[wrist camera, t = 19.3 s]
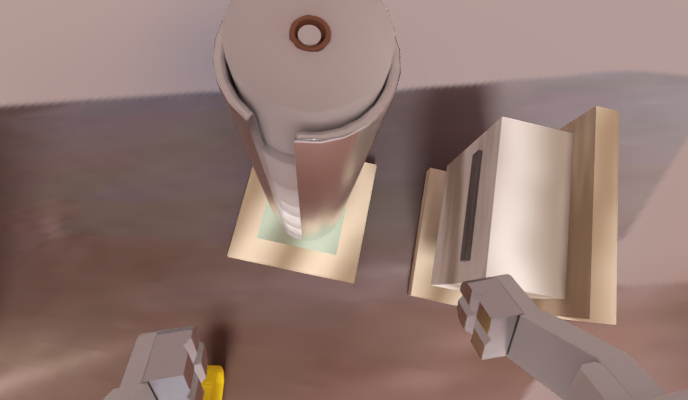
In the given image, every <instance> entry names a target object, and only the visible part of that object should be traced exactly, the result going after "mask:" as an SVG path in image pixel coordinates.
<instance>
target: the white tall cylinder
mask: <svg viewBox="0 0 688 400" xmlns="http://www.w3.org/2000/svg"><path fill="white" fill-rule="evenodd" d="M394 32H395V31H394V27H393V24H392V21H391V18H390V15H389V12H388V10H387V9H386V7H385V6H384V5H383V3H382V1H381V0H230V3H229V5H228V8H227V11H226V13H225V16H224V19H223V21H222V24H221V26H220V28H219V31H218V33H217V35H216V38H215V45H214V55H213V65H214V69H215V74H216V79H217V83H218V86H219V89H220V91H221V93H222V96H223V98H224V100H225V103H226V105H227V107H228V110H229V112H230V114H231V117H232V119H233V121H234V124H235V126H236V128H237V130H238V133H239V135H240V137H241V140H242V142H243V144H244V147H245V149H246V151H247V154H248V156H249V158H250V161H251V163H252V165H253V168H254V170H255V172H256V175H257V177H258V179H259V182H260V184H261V186H262V189H263V191H264V193H265V196H266V198H267V200H268V202H269V205H270V207H271V209H272V212H273V214H274V216H275V219H276V221H277V223H278V224H279V226H280V228H281V229H282V230H283V231H284V232H285V233H286V234H288V235H290V236H291V237H293V238H296V239H299V240H307V241H312V240H316V239H320V238H322V237H324V236H325V235H327V234H329V233H330V232H331V231H332V230H333V229H334V228H335V226H336V224H337V223H338V221H339V219H340V217H341V214H342V212H343V210H344V208H345V205H346V203H347V201H348V199H349V197H350V194H351V192H352V190H353V188H354V185H355V183H356V181H357V179H358V176H359V174H360V172H361V170H362V167H363V165H364V163H365V161H366V158H367V156H368V154H369V152H370V149H371V147H372V145H373V143H374V140H375V138H376V136H377V134H378V131H379V129H380V127H381V125H382V122H383V120H384V118H385V116H386V113H387V111H388V109H389V107H390V104H391V102H392V100H393V98H394V95H395V93H396V89H397V85H398V81H399V78H400V74H401V68H400V67H401V66H400V49H399V46H398V43H397V41H396V37H395V33H394Z"/></svg>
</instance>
